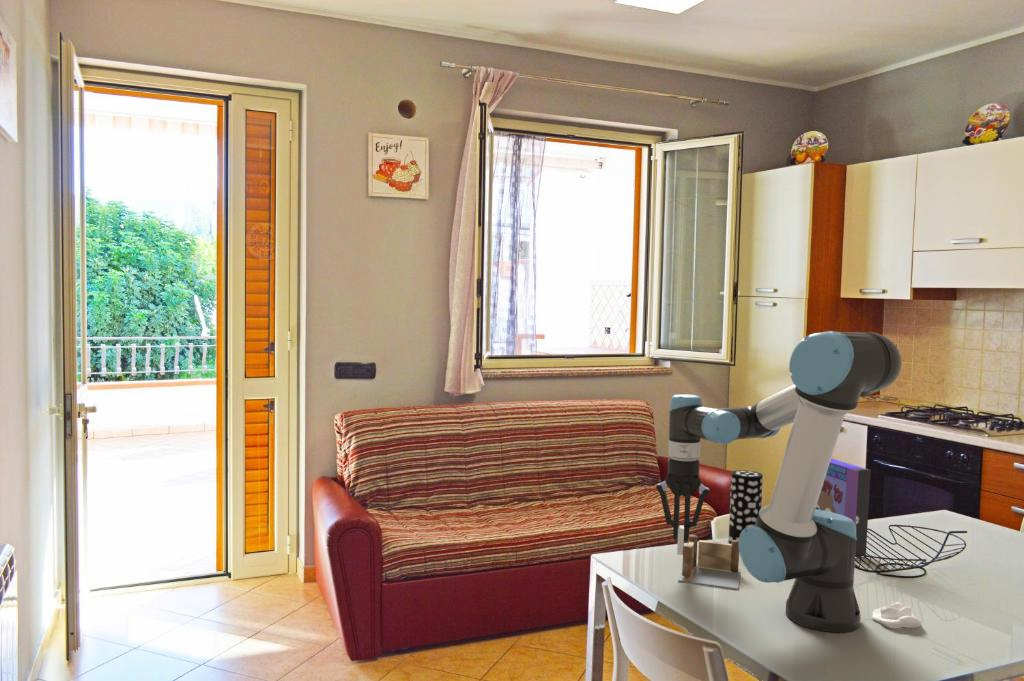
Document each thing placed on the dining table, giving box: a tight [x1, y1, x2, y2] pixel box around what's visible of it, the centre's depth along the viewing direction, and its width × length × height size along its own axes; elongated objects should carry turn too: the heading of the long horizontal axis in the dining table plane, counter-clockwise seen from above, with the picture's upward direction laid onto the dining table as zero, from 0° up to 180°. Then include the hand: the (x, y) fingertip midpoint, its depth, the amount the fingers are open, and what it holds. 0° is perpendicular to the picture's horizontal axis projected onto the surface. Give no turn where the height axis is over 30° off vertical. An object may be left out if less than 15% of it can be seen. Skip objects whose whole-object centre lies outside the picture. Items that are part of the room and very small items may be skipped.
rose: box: [871, 601, 922, 629], centre depth 171 cm, size 10×4×10 cm
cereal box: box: [815, 458, 872, 558], centre depth 221 cm, size 17×5×24 cm, turn 17°
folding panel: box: [681, 542, 694, 577], centre depth 196 cm, size 9×2×7 cm, turn 160°
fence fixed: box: [687, 534, 740, 572], centre depth 200 cm, size 13×2×8 cm, turn 72°
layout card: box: [677, 563, 742, 591], centre depth 196 cm, size 14×14×1 cm
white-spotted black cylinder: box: [728, 469, 764, 544], centre depth 222 cm, size 8×8×20 cm
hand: (680, 553), depth 195 cm, fingers closed
